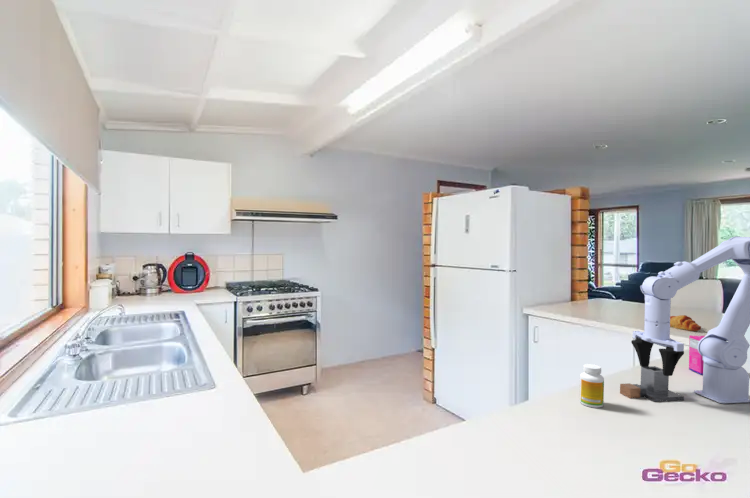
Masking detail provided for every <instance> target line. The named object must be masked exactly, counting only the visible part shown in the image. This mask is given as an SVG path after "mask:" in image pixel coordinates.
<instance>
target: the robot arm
mask: <svg viewBox="0 0 750 498" xmlns="http://www.w3.org/2000/svg"><path fill="white" fill-rule="evenodd" d="M728 260H731V261H732V262H734V263H735V264H736V265H737V266H739V268H741V271H742V272H743V274H744V275H743V276H742V278H741V280H740V282H739V284H738V286H737V288H736V291H735V292H734V294H733V297H732V299H730V302H729V304H728V305H727V306H728V307H727V308H726V310H725V312H724V315H723V316H722V319H721V320H720V322H719V324H718V326H715V327H713V328H711V329H709V330H708V331H707V333H706V335H704V336H705V337H703V338H702V339H701V340H700V341H699V343H698V352H699V353H700V355H701V356H703V359H702V360H703V361H704V364H703V375H702V389H700V390H693V393H694V394H697V395H699V396H702V397H705V398H707V399H710V400H712V401H714V402H716V403H719V404H739V403H740V404H742V403H750V399H749V392H750V376H749V373H748V372H747V370H746V368H744V367H743V366H744V365H745V364H746V362H747V359H748V350H749V348H750V342H748V339H746V336H745V335H746V332H747V331H748V328H749V327H750V236H738V235H736V236H732V237H730V238H728V239H727V240H724V241H722V242H720V244H719V245H717V246H716V247H713V248H712V249H710V250H709V251H707V252H705V253H704V254H702V255H701V256H699V257H697V258H695V259H694V260H692V261H691V262H689V261H677V262H675V263H673V266H672V267H670V268H668V269H665V271H659V272H658V273H657V275H656V276H653V275H652V276H648V277H646V278H645V279H644V280H643V282H642V284H641V285H640V286H639V288H640V292H641V293H642V294H643V295H644V322H643V323H644V327H643V331H641V330H637V331H636V330H635V331H634V330H633V331H632V338H633V340H631V342H630V343H631V345H632V346H633V348H634V350H635V352H636V354H637V355H636V356H637V358H638V362H639V366H640V368H641V367H647V366H650V362H651V352H652V348H653V346H654V345H658V346H661V347H662V348H658V351H659V353H660V354H659V355H660V356H661V357H660V358H661V363H662V369H663V375H665V376H669V377H672V376H673V374H674V372H675V369H676V366H677V364H678V362H679V361H680V359H681V358H682V356H684V354H685V349H684V348H685V347H684V346H685V344H684V343H681V342H679V341H677V340H675V339H672V338H671V327H670V316H671V302H672V300H671V299H672V298H674V297H675V296H676V295H677V292H678V291H679V290H680V289H683V288H685V287H686V286H688V285H690V284H692V283H694V282H696V281H698V280H699V279H700V276H701V275H700V274H701V273H702V272H705V271H707V270H710V269H711V268H713V267H715V266H718V265H719V264H722V263H724V262H727V261H728ZM663 347H665V348H663Z"/></svg>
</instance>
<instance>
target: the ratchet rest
mask: <svg viewBox="0 0 750 498" xmlns="http://www.w3.org/2000/svg"><path fill="white" fill-rule="evenodd" d="M640 385H641V384H638V383H636V384H635V383H633V384H632V383H619V394H621V395H622V396H624V397H626V398H627V399H640V398H645V399H647V400H649V401H651V402H653V403H656V402H659V403H660V402H674V401H675V402H677V401H679V402H680V401H684V400H685V396H684V395H681V394H679V393H677V392H675V391H672V390H669V389H668V394H652V393H650V392H648V391H646V390H647V388H645V387H642V386H640Z"/></svg>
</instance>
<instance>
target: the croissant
mask: <svg viewBox="0 0 750 498" xmlns="http://www.w3.org/2000/svg"><path fill="white" fill-rule="evenodd" d="M670 328H674V329H677V330H684V331H689V332H690V331H691V332H696V331H700V330H701V329H702V326H701V325H699V324H698V323H697V322H696V321H695V320H693V318H692V317H690V316H688V315H685V314H682V315H681V314H679V315H670Z"/></svg>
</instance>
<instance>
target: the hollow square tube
mask: <svg viewBox="0 0 750 498" xmlns="http://www.w3.org/2000/svg"><path fill="white" fill-rule="evenodd" d="M669 379H670V376H665V375H663V368H661V367H658V366H656V365H655V366H654V365H652V366H651V365H649V366H647V367H641V366H640V384H639V385H640V386H642V387H645V388H647V390H646V391H648V392H650V393H652V394H668V390H669Z"/></svg>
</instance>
